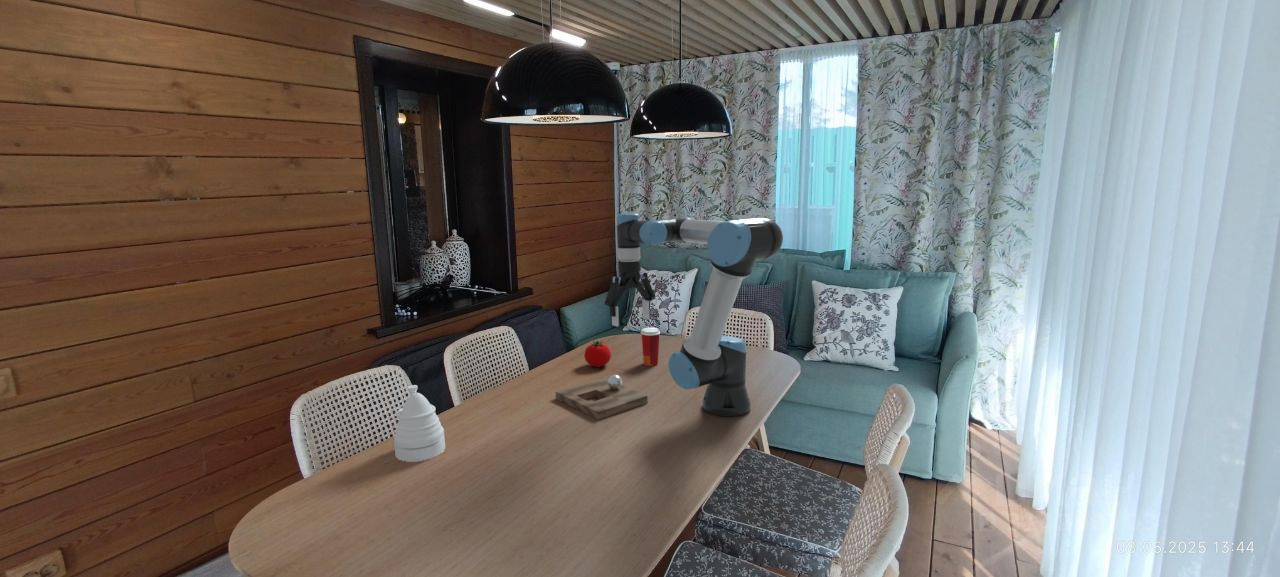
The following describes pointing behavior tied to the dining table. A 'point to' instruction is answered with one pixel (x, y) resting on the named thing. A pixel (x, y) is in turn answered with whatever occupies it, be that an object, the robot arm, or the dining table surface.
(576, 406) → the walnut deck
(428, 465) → the dining table surface
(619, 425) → the dining table surface
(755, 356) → the dining table surface
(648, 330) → the paper cup
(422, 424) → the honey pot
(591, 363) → the tomato
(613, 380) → the steel ball
